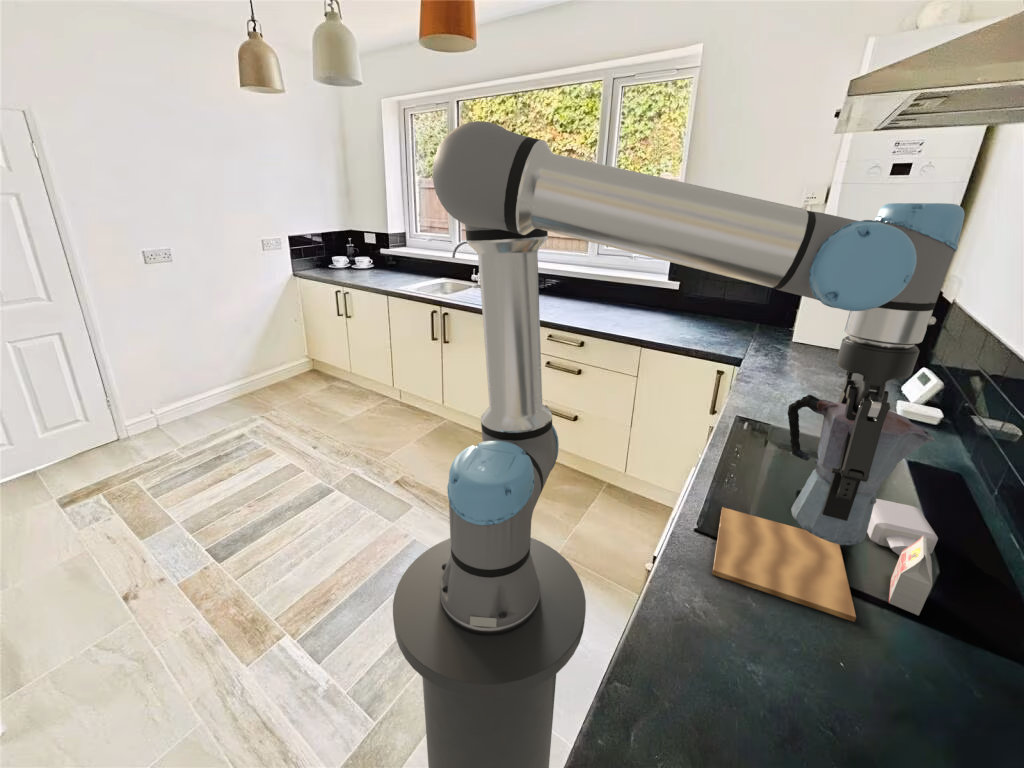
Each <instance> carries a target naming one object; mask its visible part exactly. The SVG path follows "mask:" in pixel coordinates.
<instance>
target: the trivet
mask: <svg viewBox="0 0 1024 768" xmlns="http://www.w3.org/2000/svg"><path fill="white" fill-rule="evenodd" d="M842 553H843V552H842V549H841V544H836V543H832V542H829V541H827V540H824V539H822V538H819V537H817V536H815V535H813V534H811V533H810V532H808V531H807V530H805V529H804V528H799V527H796V526H792V525H788V524H785V523H781V522H778V521H774V520H770V519H768V518H767V519H766V518H763V517H759V516H756V515H751V514H748V513H745V512H741V511H738V510H734V509H730V508H727V507H724V506H723V507H721V510H720V517H719V524H718V531H717V538H716V544H715V552H714V558H713V565H712V572H711V575H712V576H715V577H719V578H721V579H725V580H726V581H727V580H728V581H731V582H733V583H736V584H739V585H741V586H742V585H743V586H745V587H748V588H751V589H754V590H757V591H760V592H763V593H765V594H769V595H772V596H775V597H779V598H780V599H784V600H787V601H790V602H793V603H796V604H799V605H802V606H806V607H808V608H810V609H814V610H817V611H820V612H823V613H825V614H829V615H832V616H834V617H838V618H841V619H844V620H847V621H850V622H853V623H855V622H856V619H857V615H856V610H855V605H854V602H853V598H852V597H853V596H852V593H851V589H850V584H849V579H848V575H847V570H846V566H845V562H844V559H843V558H844V557H843V554H842Z"/></svg>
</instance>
